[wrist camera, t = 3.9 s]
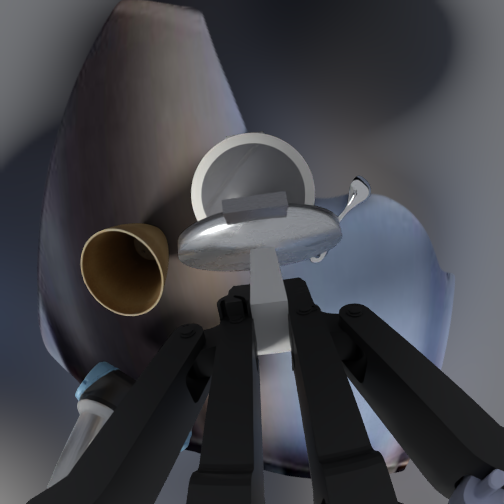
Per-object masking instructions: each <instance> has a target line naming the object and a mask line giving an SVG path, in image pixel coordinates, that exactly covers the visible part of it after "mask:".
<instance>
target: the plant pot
mask: <svg viewBox="0 0 504 504" xmlns="http://www.w3.org/2000/svg"><path fill="white" fill-rule="evenodd" d="M143 251H145V253H144V252H143ZM168 262H169V250H168V243H167V239H166V237H165V235H164V233H163V232H162V231H161V230H160V229H159V228H157V227H155V226H152V225H149V224H141V223H132V224H123V225H118V226H114V227H110V228H107V229H104V230H101V231H99V232H97V233H95V234H94V235H93V236H92V237H91V238H90V239H89V240H88V241H87V242H86V244H85V246H84V248H83V251H82V255H81V271H82V276H83V279H84V281H85V284H86V286H87V288H88V289H89V291H90V293H91V294H92V295H93V297H94V298H95V299H96V300H97V301H98V302H99V303H100V304H102V305H103V306H104V307H106V308H107V309H109V310H111V311H113V312H115V313H117V314H121V315H126V316H137V315H141V314H144V313H146V312H148V311H150V310H151V309H152V308H154V307H155V306H156V304H157V303H158V302H159V300H160V298H161V295H162V292H163V288H164V285H165V280H166V276H167V271H168Z"/></svg>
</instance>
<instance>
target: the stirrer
mask: <svg viewBox="0 0 504 504" xmlns="http://www.w3.org/2000/svg"><path fill="white" fill-rule="evenodd" d="M370 193H371V188H370V185H369V183H368V181H367V180H366V179H364V178H363V177H362V176H357V177H355V178H354V180H353V181H352V183H351V185H350V189H349V198H348V203H347V205H346V207H345V209H344V211H343V212H342V213H341V214H340V215H339V216H338V219H339V223H340V221H341V220H342V218H343V217H344V216H345V215H346V213H347V212H348V211H350V210H351V209H352V208H353V207H355V206H357V205H359V204H361V203H363V202H365V201H366V200H367V199H368V198H369V196H370ZM326 252H327V251H326ZM326 252H324V253H322V254H320V257H318V258H315V257H312V258H310V260H311V261H312V262H313V263H318V262H320V261H321V260H322V259H323V258H324V256H325V254H326Z"/></svg>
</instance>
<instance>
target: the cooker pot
mask: <svg viewBox="0 0 504 504" xmlns="http://www.w3.org/2000/svg"><path fill="white" fill-rule="evenodd" d="M282 191H286V197H287V202H288V203H300V204H309V205H314V202H315V185H314V180H313V176H312V173H311V171H310V168H309V166H308V164H307V163H306V161H305V160H304V158H303V157H302V156H301V155H300V153H299V152H298V151H297V150H296V149H295V148H293V147H292V146H291V145H290V144H288V143H287V142H285V141H283V140H281V139H279V138H277V137H274V136H271V135H267V134H264V133H263V131H261V132H253V133H244V134H239V135H232V136H226V139H225V140H223V141H221V142H220V143H218V144H217V145H215V146H214V147H213V148H212V149H211V150H210V151H209V152H208V153H207V154H206V155H205V156H204V157H203V159H202V160H201V162H200V163H199V165H198V167H197V169H196V172H195V174H194V178H193V181H192V188H191V200H192V206H193V210H194V213H195V216H196V218H197V221H200V220H202V219H204V218H206V217H209V216H212V215H214V214H217V213H220V212H223V210H222V200H224V199H231V198H238V197H245V196H252V195H259V194H267V193H274V192H282Z"/></svg>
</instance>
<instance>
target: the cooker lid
mask: <svg viewBox="0 0 504 504" xmlns="http://www.w3.org/2000/svg"><path fill="white" fill-rule="evenodd" d="M222 210H223V212H220V213H217V214H214V215H212V216H209V217H206V218H204V219H202V220H200V221H198V222H196V223H194V224H192V225H191V226H189V227H188V228H187V229H185V230H184V231H183V232H182V233H181V235H180V236H179V238H178V258H179V260H180V261H181V262H182V263H183V264H185V265H187V266H190V267H193V268H196V269H201V270H209V271H249V270H250V249H258V248H266V247H275V251H276V255H277V259H278V263H279V266H283V265H288V264H292V263H296V262H300V261H303V260H307V259H310V258H312V257H315V256H318V255H320V254H322V253H324V252H326V251H328V250H330V249H332V248H333V247H335V246H336V245H337V244H338V243H339V242H340V241H341V239H342V231H341V227H340V223H339V219H338V217H337V216H336V215H335V214H334V213H333V212H331V211H329V210H327V209H325V208H322V207H318V206H314V205H309V204H300V203H288V202H287V197H286V191H282V192H274V193H267V194H259V195H252V196H245V197H238V198H231V199H224V200H222Z"/></svg>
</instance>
